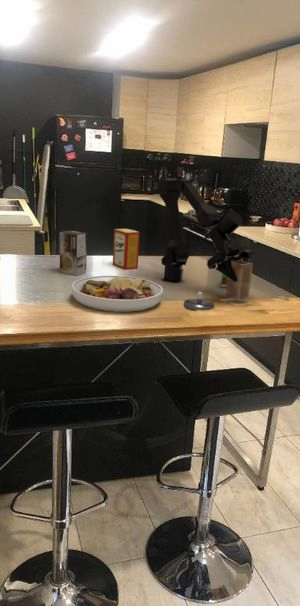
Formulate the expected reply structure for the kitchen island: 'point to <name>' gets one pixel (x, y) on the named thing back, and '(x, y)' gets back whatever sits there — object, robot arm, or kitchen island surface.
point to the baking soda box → (126, 249)
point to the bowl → (117, 293)
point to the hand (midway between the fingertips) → (242, 280)
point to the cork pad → (236, 301)
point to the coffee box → (73, 252)
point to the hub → (198, 303)
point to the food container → (224, 281)
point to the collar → (239, 280)
